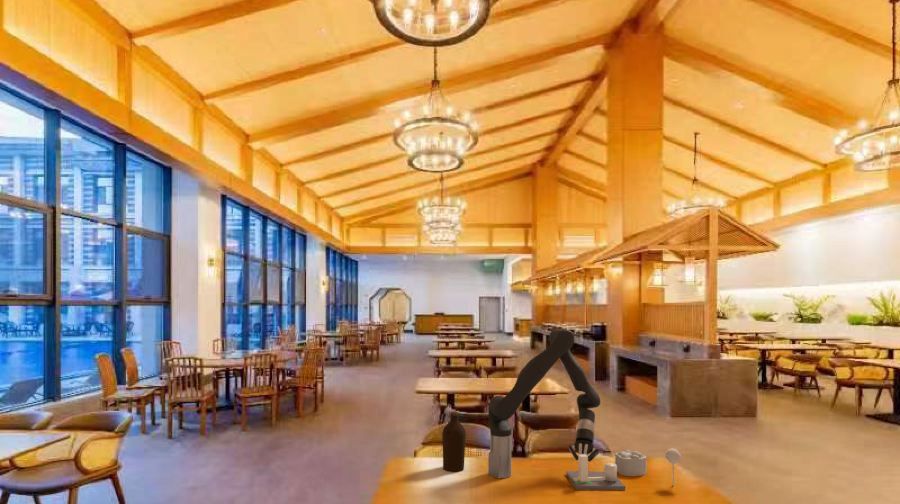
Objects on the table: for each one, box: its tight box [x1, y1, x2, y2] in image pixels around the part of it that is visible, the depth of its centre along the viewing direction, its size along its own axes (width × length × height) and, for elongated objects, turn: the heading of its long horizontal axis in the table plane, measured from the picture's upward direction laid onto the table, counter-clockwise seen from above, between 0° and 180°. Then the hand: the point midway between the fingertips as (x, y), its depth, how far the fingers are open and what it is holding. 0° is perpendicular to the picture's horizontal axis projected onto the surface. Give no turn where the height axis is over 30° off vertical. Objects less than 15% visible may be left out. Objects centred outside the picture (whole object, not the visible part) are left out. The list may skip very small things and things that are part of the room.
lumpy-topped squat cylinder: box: [614, 449, 648, 477], centre depth 240 cm, size 10×13×9 cm
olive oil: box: [441, 410, 467, 473], centre depth 240 cm, size 11×11×25 cm
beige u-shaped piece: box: [573, 454, 618, 482], centre depth 222 cm, size 18×5×10 cm, turn 98°
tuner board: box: [565, 470, 626, 491], centre depth 225 cm, size 20×18×2 cm
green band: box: [575, 480, 593, 483], centre depth 221 cm, size 7×4×1 cm, turn 96°
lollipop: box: [664, 447, 682, 486], centre depth 223 cm, size 6×6×15 cm
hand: (581, 469), depth 224 cm, fingers closed
